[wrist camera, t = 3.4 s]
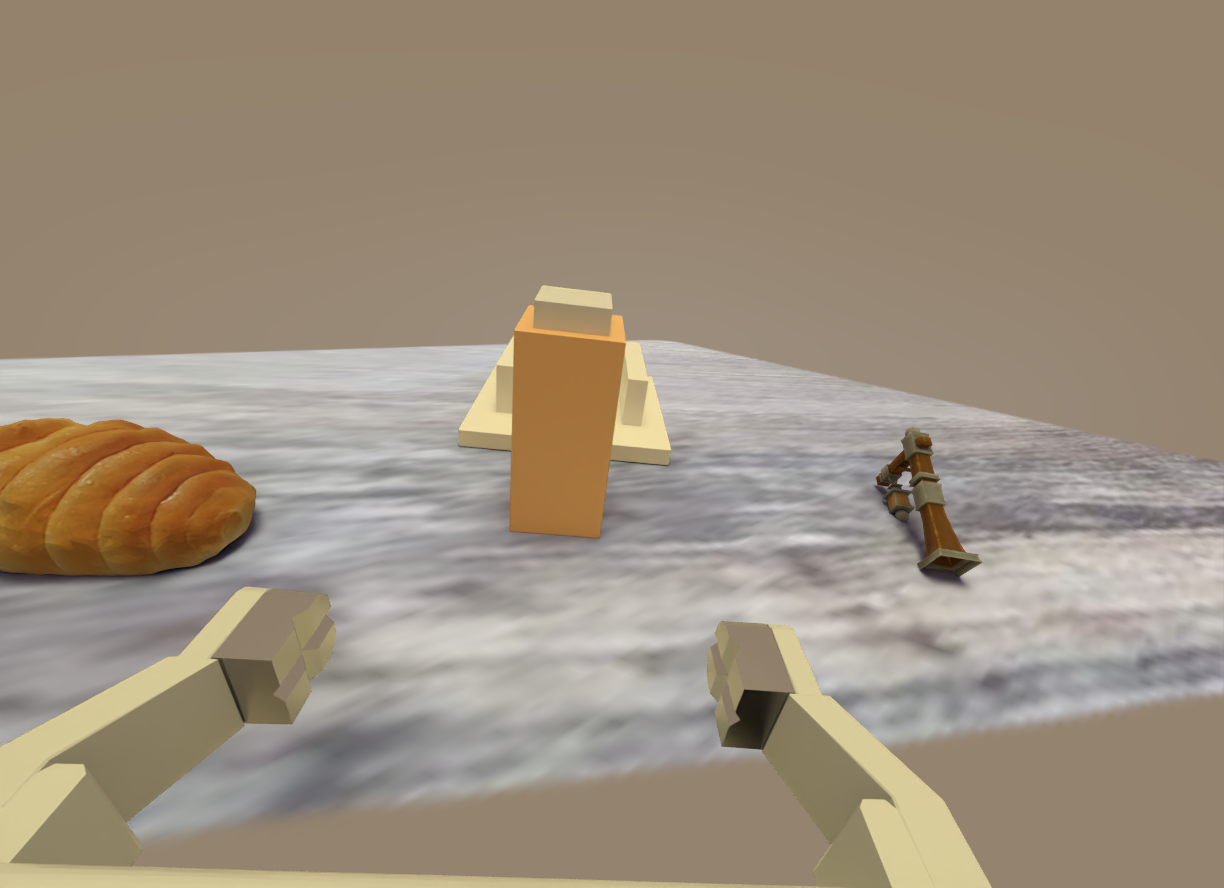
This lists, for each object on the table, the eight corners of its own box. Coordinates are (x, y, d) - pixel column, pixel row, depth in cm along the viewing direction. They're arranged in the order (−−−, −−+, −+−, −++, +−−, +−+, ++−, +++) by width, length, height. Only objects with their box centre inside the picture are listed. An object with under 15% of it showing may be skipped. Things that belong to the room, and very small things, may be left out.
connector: (509, 531, 21) (514, 301, 16) (522, 481, 25) (529, 280, 20) (599, 538, 21) (629, 315, 17) (599, 488, 25) (624, 292, 20)
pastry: (306, 500, 22) (288, 425, 20) (165, 617, 16) (122, 526, 14) (113, 466, 22) (79, 390, 20) (-93, 567, 16) (-167, 472, 14)
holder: (458, 445, 27) (456, 379, 25) (498, 372, 38) (499, 321, 36) (668, 465, 28) (681, 402, 26) (649, 388, 38) (657, 339, 37)
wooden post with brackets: (893, 469, 29) (937, 421, 26) (925, 597, 24) (985, 560, 21) (863, 465, 29) (903, 416, 26) (889, 591, 24) (943, 553, 21)
